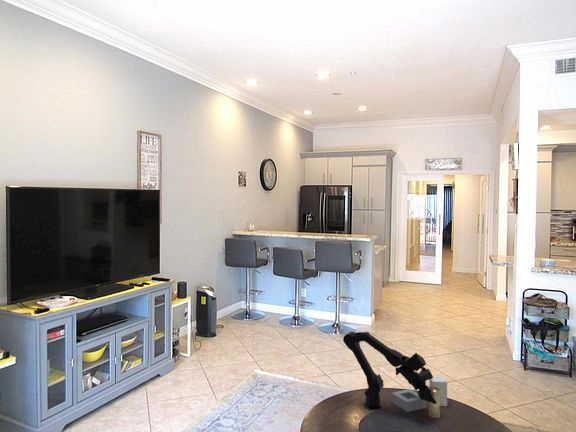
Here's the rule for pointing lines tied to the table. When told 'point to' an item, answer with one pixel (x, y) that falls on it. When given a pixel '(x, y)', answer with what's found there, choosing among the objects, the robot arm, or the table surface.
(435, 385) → the supplement box
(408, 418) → the table surface
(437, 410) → the brass bushing
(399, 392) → the block
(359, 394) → the table surface
